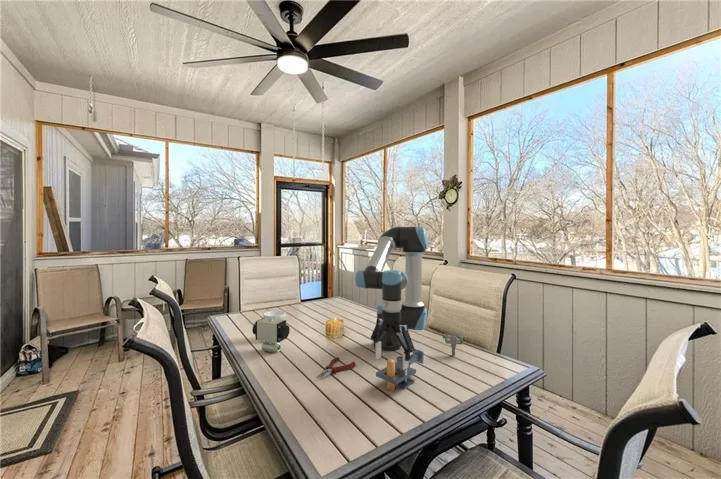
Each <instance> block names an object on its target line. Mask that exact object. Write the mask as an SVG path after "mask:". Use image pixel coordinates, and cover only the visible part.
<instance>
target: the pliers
mask: <svg viewBox="0 0 721 479" xmlns="http://www.w3.org/2000/svg"><path fill="white" fill-rule="evenodd" d="M339 361H340V357H339V356H336V357H334V358H332V359H331V360H330V363H329V365H327V366H325V369H324V370H323V371H322V372H320V373H319V374H318V375H317V376H316V378H321V380H323V379H325V378H327V377H330V376H331V375H332V374H333V375H337V373H341V372H344V371H349V370H352V369H353V368H355V367H356V366H357V364H356V361H352V362H350V363H347V364H345V365H340V366H334V365H335V364H336V363H338V362H339Z"/></svg>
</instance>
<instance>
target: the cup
mask: <svg viewBox="0 0 721 479" xmlns="http://www.w3.org/2000/svg"><path fill="white" fill-rule="evenodd" d="M286 313H287V312H286V311H284V310H279V309H278V310H277V309H275V310H268V311H265V312H264V313H263V314H262V315H263V316H262V317H263V318H270V317H272V319H280V320H285V318H286V315H287V314H286Z"/></svg>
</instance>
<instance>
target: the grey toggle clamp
mask: <svg viewBox="0 0 721 479" xmlns="http://www.w3.org/2000/svg"><path fill="white" fill-rule="evenodd" d="M424 361H425V360H424V351H421V350H419V349H418V348H417V349H416V348H415V351H413V352H412V354H410V360H409V361H408V368H407V369H405V370H403V355H402V356H396V360H395V376H394V377H390V376H387V366H386V367H385V368H382V369H380V370H378V371H376V372H375V377H377V378H379V379H381V380H383V381H386V382H387V381H388V382H390V383H393V384H395V386H397V387H399V388H401V389H404V390H405V389H407V388H409V387H410V386H411V385H413V384H415V383H416V382H415V381H416V380H414V379H412V378H410V377H412V376H414V375H415V374H417V369H416V368H413V367H411V365H413V364H416V363H418V364H424Z"/></svg>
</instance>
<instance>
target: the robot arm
mask: <svg viewBox="0 0 721 479" xmlns="http://www.w3.org/2000/svg"><path fill="white" fill-rule="evenodd" d="M376 245H377V246H376V247H375V249H374V251H373V253H372V255H371V257H370V259H369V261H368V263H367V265H366V267H365V269H364V270H363V269H362V270H358V271H356V273H355V278H354V282H355V285H356V287H357V288H361V289H362V288H363V289H372V290H373V289H374V290H381V294H382V295H381V296H382V299H381V300H382V301H381V302H382V303H380V304H378V306H377V307H376V308H377V309H376V322H375V327H374V329H373V331H372V333H371V336H370V340H372V341H373V348H374V350H375V360H378V359H381V358H382V351H387V352H389V351H390V352H391V351H397V350H399V349H401V348H402V350H403V352H402V356H403V370H405V369H407V368H408V361H409V360H410V355H411V353H413V351H415V349H416V348H415V346H414V343H413V341H412V337H411V335H410V333H409V330H411V331H423V330H424V329H425V327H426V323H427V320H428V319H427V318H428V309H427V307H425V304H424V302H423V301H422V286H423V285H422V284H423V282H422V281H423V280H422V279H423V277H422V276H423V275H422V274H423V271H422V270H423V255H425V253H426V250H428V249H429V238H428V232H427V229H426V228H425V227H422V226H395V227H391V228H389V229H387V230H385V232H383V233H382V234H381V235H380V237H379V238H378V239H377V244H376ZM395 249H401V250H402V253H403V254H404V256H405V264H404V266H405V267H404V268H405V269H404V271H405V272H404V271H400V270H396V269H395V270H393V269H388V270H384V268H385V266H386V263H387V262H388V259H389V257H390V255H391V253H392V252H393V251H394V250H395ZM383 270H384V271H383ZM403 289H404V290H405V291H404V301H402V290H403Z"/></svg>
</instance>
